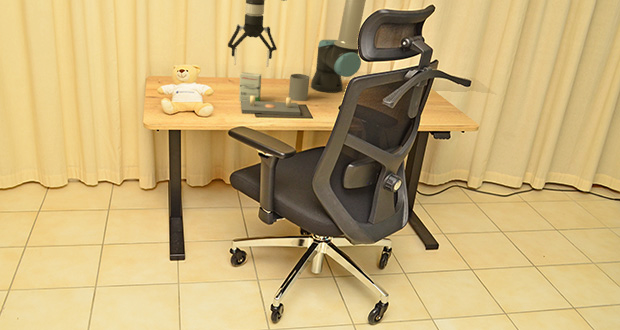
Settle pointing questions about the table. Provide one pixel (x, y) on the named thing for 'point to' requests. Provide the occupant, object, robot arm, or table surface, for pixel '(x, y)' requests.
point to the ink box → (249, 86)
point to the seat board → (270, 107)
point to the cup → (298, 87)
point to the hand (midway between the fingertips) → (251, 65)
